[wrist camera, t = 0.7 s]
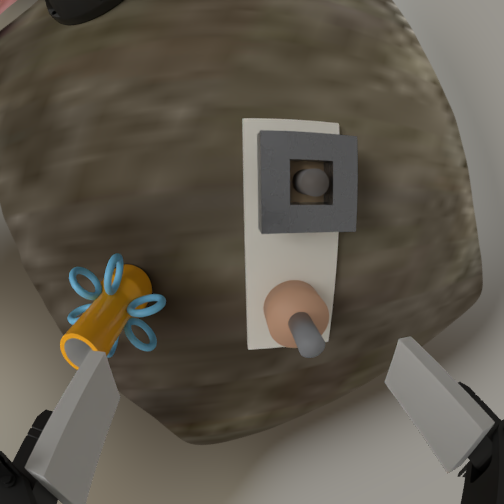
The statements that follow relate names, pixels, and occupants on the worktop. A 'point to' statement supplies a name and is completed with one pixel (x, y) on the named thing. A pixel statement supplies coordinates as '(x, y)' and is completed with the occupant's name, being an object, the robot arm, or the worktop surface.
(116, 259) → the tube with blue rings
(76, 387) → the robot arm
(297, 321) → the peg
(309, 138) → the square frame with hole
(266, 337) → the board
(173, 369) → the worktop surface
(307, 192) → the stand
